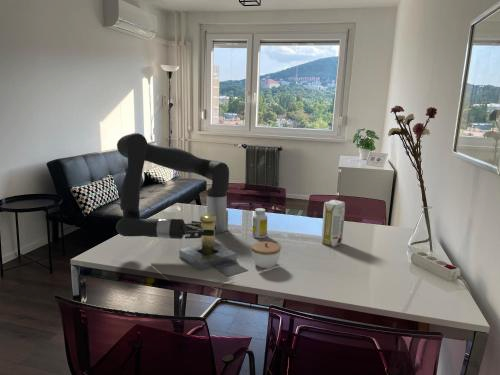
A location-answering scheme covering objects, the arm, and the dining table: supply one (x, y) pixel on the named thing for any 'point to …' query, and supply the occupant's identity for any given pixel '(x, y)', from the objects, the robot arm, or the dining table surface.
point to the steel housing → (207, 256)
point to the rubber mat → (230, 269)
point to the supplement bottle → (259, 223)
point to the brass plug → (208, 241)
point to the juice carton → (333, 222)
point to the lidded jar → (265, 254)
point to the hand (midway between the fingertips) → (214, 230)
